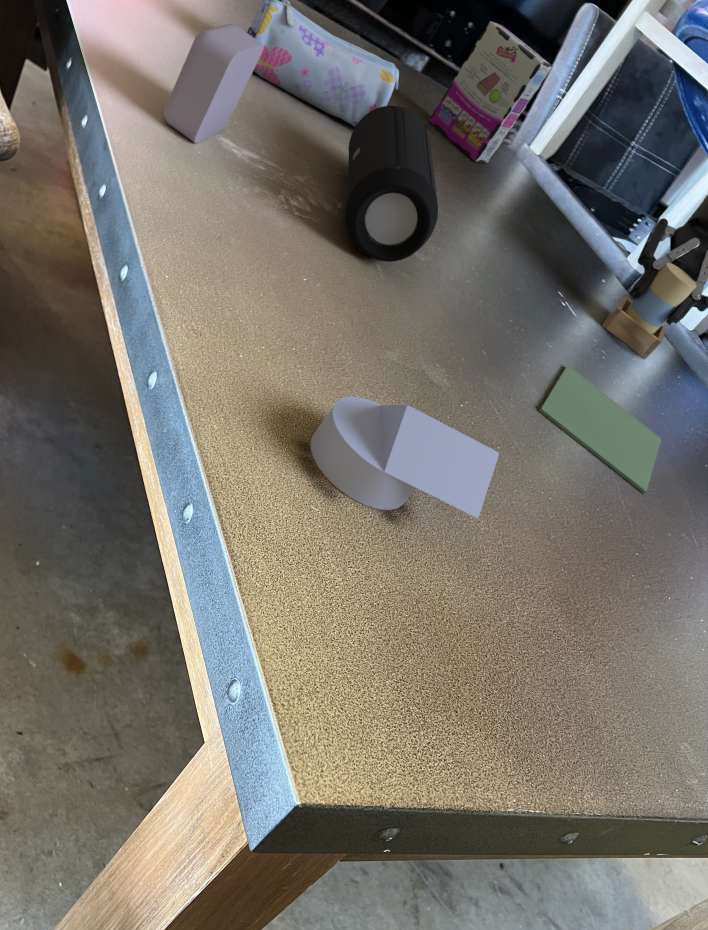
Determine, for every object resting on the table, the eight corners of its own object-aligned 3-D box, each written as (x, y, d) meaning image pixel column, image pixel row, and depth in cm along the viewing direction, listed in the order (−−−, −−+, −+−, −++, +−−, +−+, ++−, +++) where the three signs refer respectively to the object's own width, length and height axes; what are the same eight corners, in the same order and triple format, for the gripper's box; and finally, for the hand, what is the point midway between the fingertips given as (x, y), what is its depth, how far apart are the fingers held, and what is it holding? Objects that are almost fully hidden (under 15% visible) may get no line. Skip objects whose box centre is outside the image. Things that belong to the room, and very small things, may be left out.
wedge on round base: (444, 478, 82) (312, 411, 79) (493, 420, 78) (356, 347, 74) (452, 547, 76) (308, 478, 72) (506, 488, 71) (356, 411, 68)
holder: (650, 344, 136) (666, 328, 135) (645, 359, 131) (661, 342, 129) (609, 312, 137) (624, 295, 135) (601, 325, 131) (617, 308, 129)
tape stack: (644, 340, 136) (698, 281, 129) (640, 350, 132) (695, 290, 125) (616, 319, 136) (668, 259, 129) (611, 328, 132) (664, 267, 126)
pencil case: (231, 66, 125) (266, -8, 119) (234, 46, 131) (267, -26, 125) (368, 147, 131) (408, 80, 125) (365, 124, 137) (402, 59, 131)
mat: (659, 441, 113) (661, 438, 113) (643, 494, 101) (646, 491, 101) (565, 367, 114) (567, 364, 114) (538, 411, 101) (541, 408, 101)
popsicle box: (488, 164, 157) (555, 67, 146) (474, 163, 153) (542, 63, 143) (441, 122, 159) (503, 23, 149) (426, 120, 156) (489, 18, 145)
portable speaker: (333, 158, 121) (377, 82, 115) (399, 198, 124) (445, 126, 118) (326, 242, 103) (377, 157, 96) (404, 286, 105) (458, 206, 99)
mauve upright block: (190, 105, 109) (230, 16, 103) (224, 129, 109) (266, 43, 103) (154, 119, 101) (195, 24, 95) (191, 145, 102) (234, 53, 95)
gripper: (698, 167, 127) (622, 262, 126) (785, 234, 127) (710, 330, 125) (672, 196, 135) (600, 287, 133) (754, 259, 134) (683, 351, 132)
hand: (653, 307), depth 129 cm, fingers closed on tape stack, 5 cm apart
